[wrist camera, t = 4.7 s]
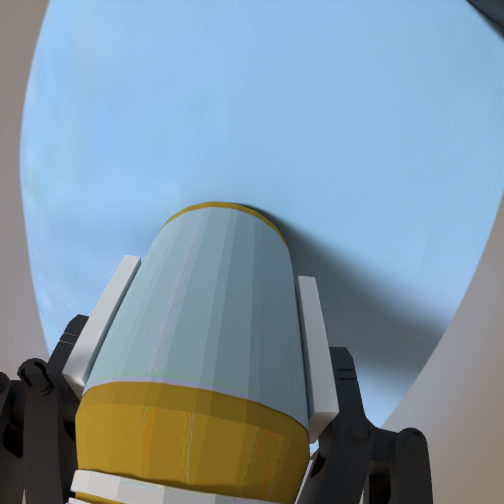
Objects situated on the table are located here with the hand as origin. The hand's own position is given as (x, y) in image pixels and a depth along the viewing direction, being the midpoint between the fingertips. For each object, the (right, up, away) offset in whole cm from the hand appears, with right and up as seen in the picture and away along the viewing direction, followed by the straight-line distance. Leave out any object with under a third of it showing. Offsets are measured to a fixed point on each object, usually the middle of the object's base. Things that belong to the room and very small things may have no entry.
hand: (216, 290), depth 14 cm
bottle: (0, +2, +2) cm, 3 cm away
